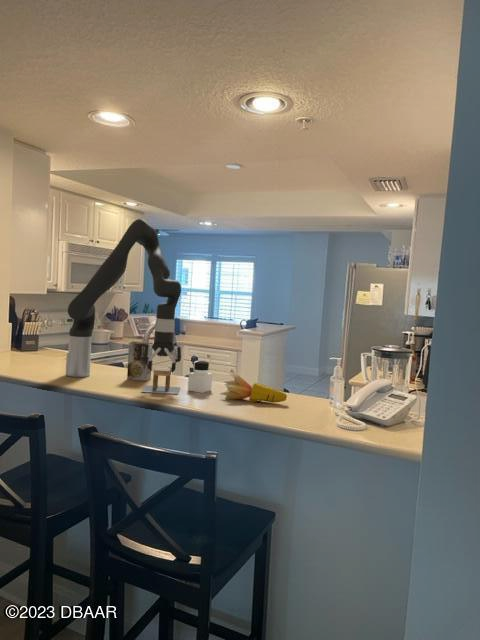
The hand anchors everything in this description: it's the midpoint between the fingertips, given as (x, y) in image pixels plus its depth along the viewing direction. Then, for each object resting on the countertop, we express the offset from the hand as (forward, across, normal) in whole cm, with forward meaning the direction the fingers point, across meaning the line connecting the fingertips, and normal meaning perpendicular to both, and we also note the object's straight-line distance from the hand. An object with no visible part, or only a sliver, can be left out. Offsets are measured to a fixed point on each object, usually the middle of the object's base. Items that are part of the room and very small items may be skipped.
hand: (161, 371), depth 178 cm
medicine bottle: (+8, -15, -4) cm, 18 cm away
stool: (+7, 0, 0) cm, 7 cm away
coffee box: (+8, +12, -20) cm, 25 cm away
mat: (+8, 0, 0) cm, 8 cm away
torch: (+8, -36, +9) cm, 38 cm away
